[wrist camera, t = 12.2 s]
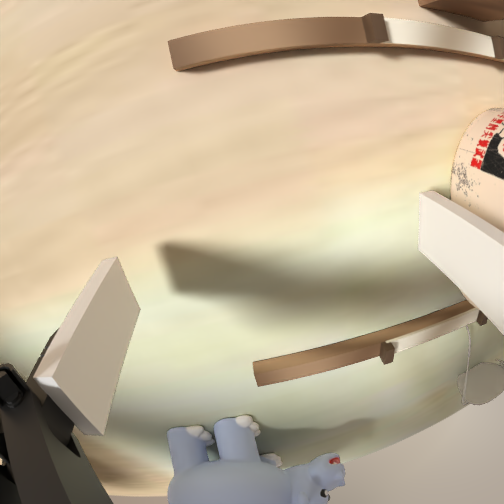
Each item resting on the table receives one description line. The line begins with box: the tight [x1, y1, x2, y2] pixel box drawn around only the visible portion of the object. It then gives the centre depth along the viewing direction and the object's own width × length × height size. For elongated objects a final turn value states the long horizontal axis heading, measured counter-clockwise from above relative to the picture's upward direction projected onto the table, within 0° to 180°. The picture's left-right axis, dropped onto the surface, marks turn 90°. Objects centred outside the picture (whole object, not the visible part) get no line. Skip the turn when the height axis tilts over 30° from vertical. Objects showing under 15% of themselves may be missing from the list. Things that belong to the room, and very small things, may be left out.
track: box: [168, 13, 504, 387], centre depth 13 cm, size 26×18×2 cm
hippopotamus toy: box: [167, 415, 345, 504], centre depth 19 cm, size 11×15×10 cm
